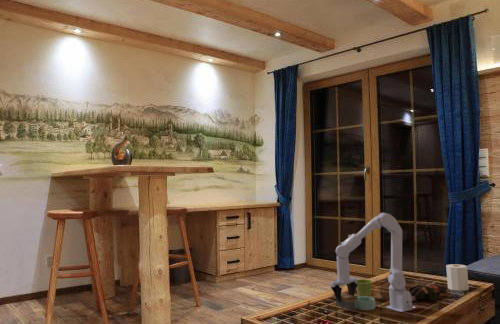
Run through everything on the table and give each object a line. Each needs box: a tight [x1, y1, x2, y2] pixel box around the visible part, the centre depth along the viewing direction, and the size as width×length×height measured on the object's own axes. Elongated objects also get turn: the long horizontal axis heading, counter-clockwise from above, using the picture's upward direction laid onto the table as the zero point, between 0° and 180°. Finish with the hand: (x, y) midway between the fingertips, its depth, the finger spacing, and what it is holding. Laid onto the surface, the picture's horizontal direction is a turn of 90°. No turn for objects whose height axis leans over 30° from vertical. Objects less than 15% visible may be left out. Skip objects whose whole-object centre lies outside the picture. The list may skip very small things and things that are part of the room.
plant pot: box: [355, 278, 374, 297], centre depth 210 cm, size 9×9×9 cm
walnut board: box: [332, 291, 358, 303], centre depth 193 cm, size 11×6×2 cm, turn 28°
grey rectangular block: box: [335, 299, 356, 312], centre depth 193 cm, size 10×3×4 cm, turn 28°
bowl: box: [355, 296, 376, 311], centre depth 194 cm, size 9×9×4 cm
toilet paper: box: [445, 263, 470, 292], centre depth 220 cm, size 10×10×12 cm
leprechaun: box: [408, 283, 448, 302], centre depth 204 cm, size 11×10×25 cm
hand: (345, 300), depth 193 cm, fingers open, 7 cm apart
